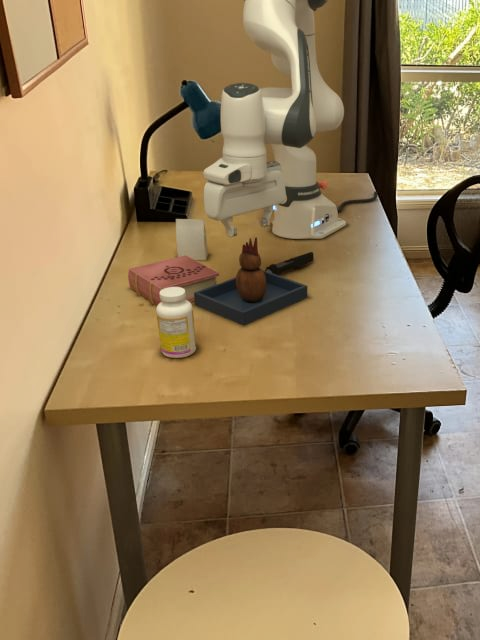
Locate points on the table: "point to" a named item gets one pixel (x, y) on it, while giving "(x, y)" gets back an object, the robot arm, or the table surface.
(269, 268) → the electric trimmer
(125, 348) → the table surface
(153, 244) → the table surface
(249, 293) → the wooden figurine
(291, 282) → the tray
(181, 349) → the supplement bottle
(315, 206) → the robot arm
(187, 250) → the white folded card
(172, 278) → the book
